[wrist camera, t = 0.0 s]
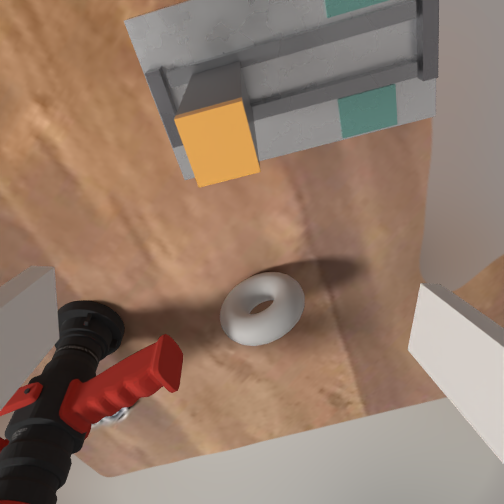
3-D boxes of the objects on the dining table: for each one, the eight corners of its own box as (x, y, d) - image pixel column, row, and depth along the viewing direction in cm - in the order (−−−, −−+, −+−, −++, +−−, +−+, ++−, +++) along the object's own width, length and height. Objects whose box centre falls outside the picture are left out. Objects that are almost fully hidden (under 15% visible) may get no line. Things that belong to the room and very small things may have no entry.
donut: (293, 254, 48) (305, 314, 39) (302, 275, 50) (316, 336, 41) (216, 281, 50) (212, 343, 41) (227, 301, 51) (226, 364, 43)
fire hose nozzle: (180, 572, 30) (-66, 630, 35) (203, 312, 52) (51, 372, 58) (96, 524, 25) (-176, 600, 30) (161, 258, 47) (-1, 330, 53)
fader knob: (209, 123, 36) (198, 187, 25) (192, 72, 33) (174, 119, 23) (252, 111, 36) (260, 172, 25) (239, 58, 33) (241, 100, 23)
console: (186, 171, 41) (183, 186, 38) (129, 18, 33) (119, 22, 30) (427, 109, 38) (442, 120, 36) (426, -74, 31) (445, -78, 28)
